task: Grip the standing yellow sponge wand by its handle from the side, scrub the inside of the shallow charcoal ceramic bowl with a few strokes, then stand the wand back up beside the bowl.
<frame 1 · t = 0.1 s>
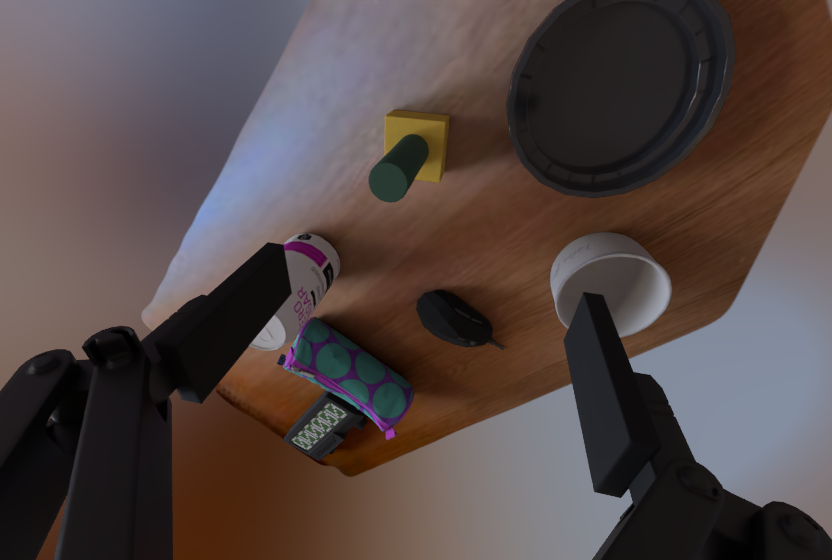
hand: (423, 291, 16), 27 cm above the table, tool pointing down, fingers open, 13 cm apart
digital display: (329, 420, 73), on the table
pencil case: (359, 353, 60), on the table
bowl: (602, 95, 34), on the table
teacup: (589, 272, 44), on the table
supplement can: (315, 256, 51), on the table
sponge wand: (419, 142, 39), on the table
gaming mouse: (463, 320, 52), on the table
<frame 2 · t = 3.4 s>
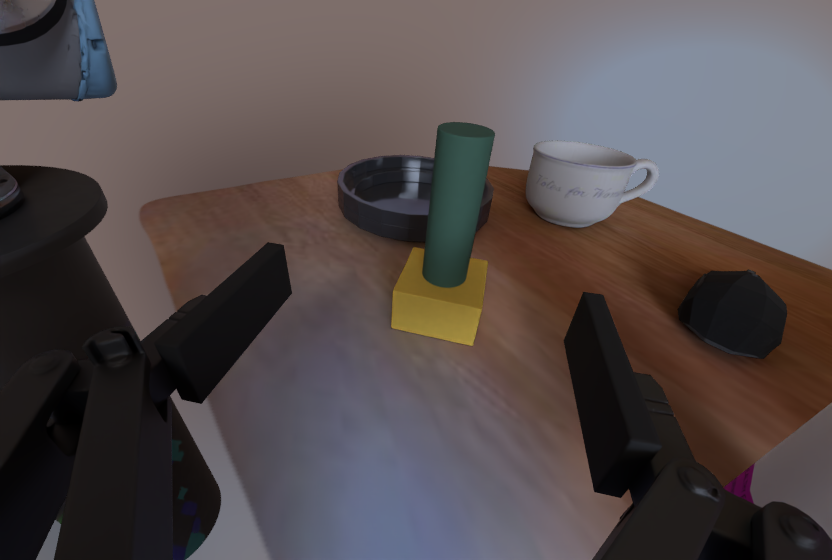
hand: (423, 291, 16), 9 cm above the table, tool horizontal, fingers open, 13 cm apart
bowl: (414, 208, 42), on the table
teacup: (574, 219, 44), on the table
sponge wand: (438, 310, 28), on the table
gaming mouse: (725, 311, 31), on the table
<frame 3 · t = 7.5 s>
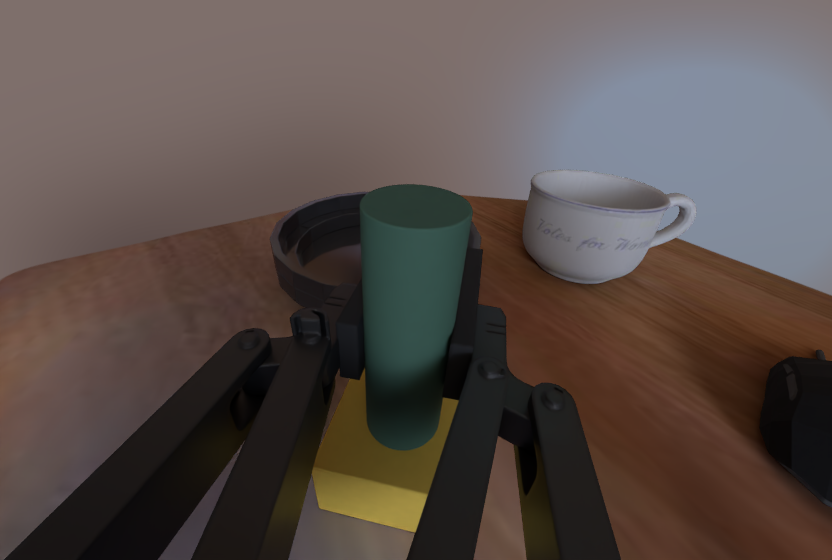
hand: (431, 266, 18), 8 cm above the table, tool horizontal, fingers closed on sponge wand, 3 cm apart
bowl: (378, 264, 32), on the table
teacup: (586, 269, 34), on the table
sponge wand: (400, 459, 18), on the table, touching gripper
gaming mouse: (822, 421, 21), on the table
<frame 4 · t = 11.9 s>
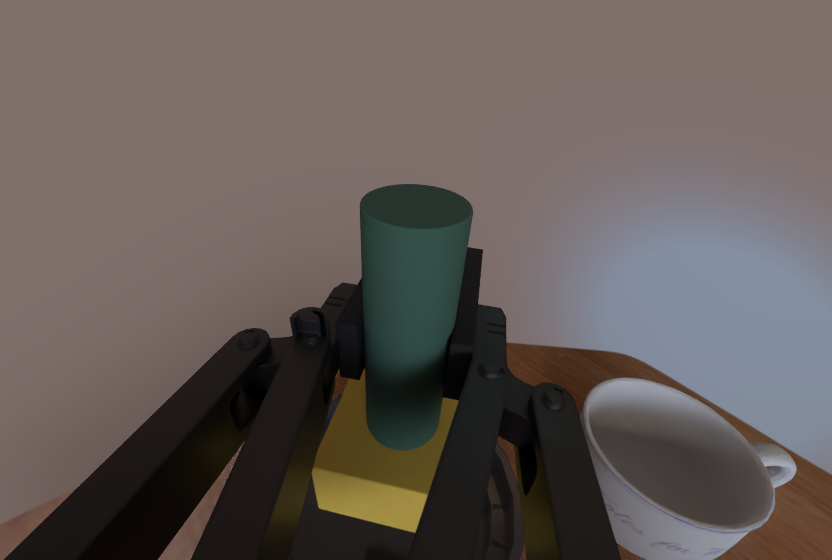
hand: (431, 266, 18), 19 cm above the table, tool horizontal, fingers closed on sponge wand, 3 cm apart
bowl: (390, 512, 26), on the table
teacup: (645, 502, 28), on the table
sponge wand: (400, 459, 18), point 11 cm above the table, touching gripper
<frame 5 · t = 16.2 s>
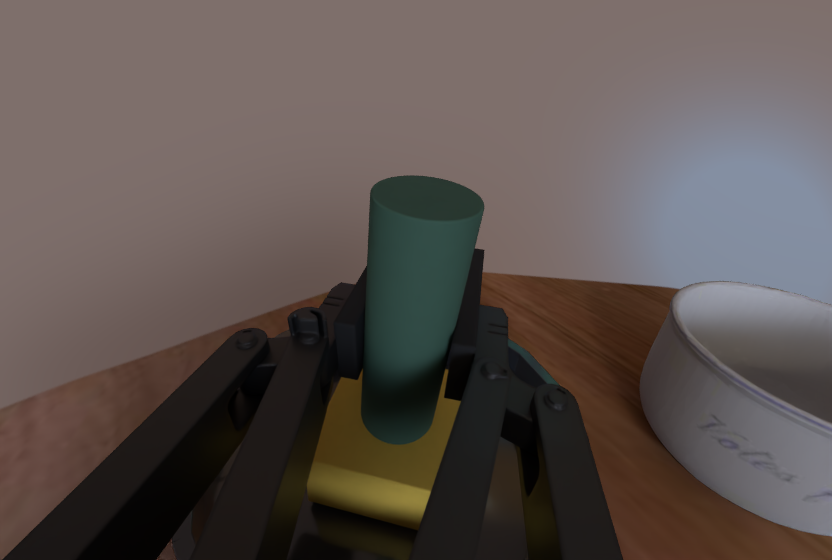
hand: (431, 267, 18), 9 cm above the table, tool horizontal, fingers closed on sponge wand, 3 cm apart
bowl: (393, 463, 18), on the table
teacup: (750, 455, 20), on the table
sponge wand: (391, 453, 18), point 1 cm above the table, touching bowl, gripper
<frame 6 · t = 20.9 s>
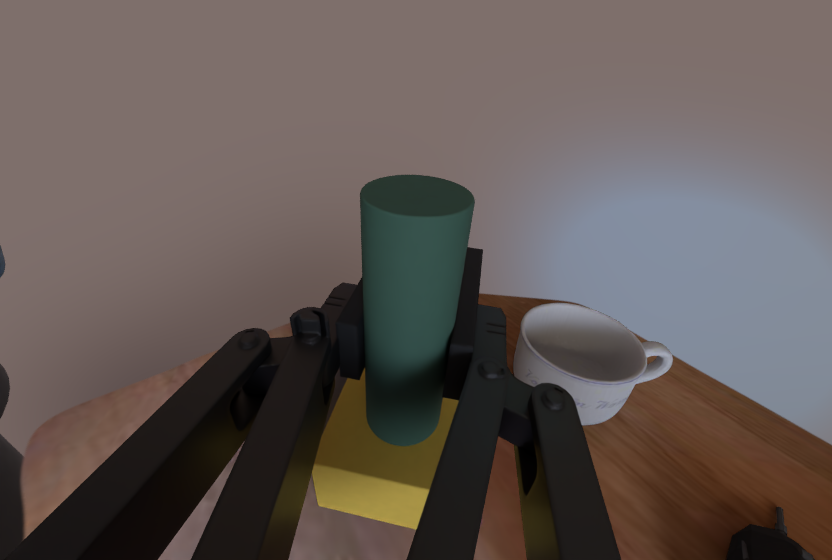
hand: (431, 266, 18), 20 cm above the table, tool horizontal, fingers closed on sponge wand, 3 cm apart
bowl: (379, 397, 35), on the table
teacup: (572, 396, 37), on the table
sponge wand: (400, 455, 18), point 12 cm above the table, touching gripper
when the fingers open (8 cm above the table, at t = 24.9 s): sponge wand stays where it is, on the table.
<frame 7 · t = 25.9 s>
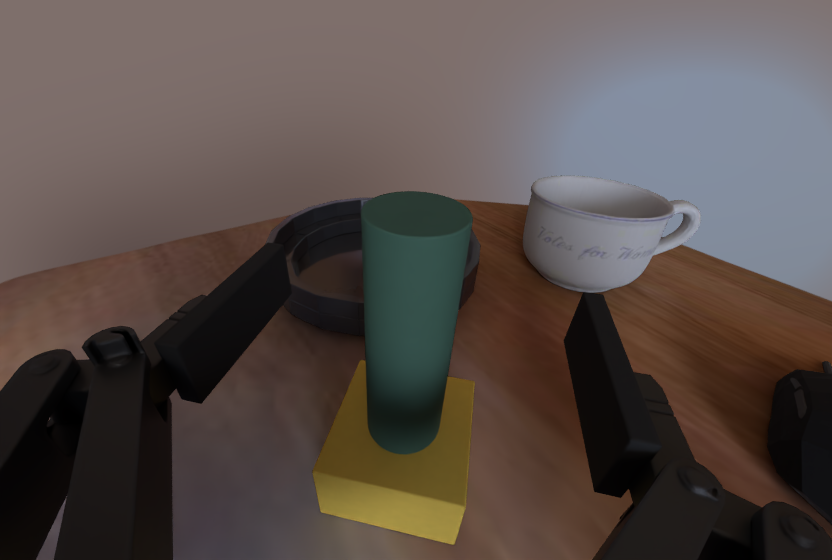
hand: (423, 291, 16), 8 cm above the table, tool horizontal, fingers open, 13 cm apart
bowl: (376, 272, 32), on the table
teacup: (588, 277, 34), on the table
sponge wand: (401, 462, 18), on the table
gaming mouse: (831, 438, 21), on the table
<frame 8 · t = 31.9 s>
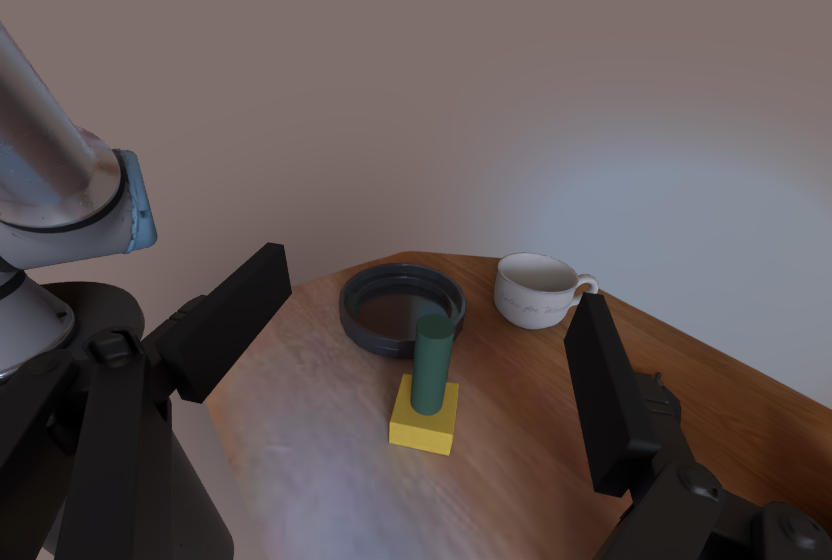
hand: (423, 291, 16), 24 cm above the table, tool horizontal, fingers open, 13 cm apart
bowl: (402, 315, 51), on the table
teacup: (535, 317, 53), on the table
sponge wand: (423, 422, 37), on the table
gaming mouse: (643, 413, 40), on the table
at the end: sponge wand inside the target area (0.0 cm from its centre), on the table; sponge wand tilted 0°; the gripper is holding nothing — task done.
